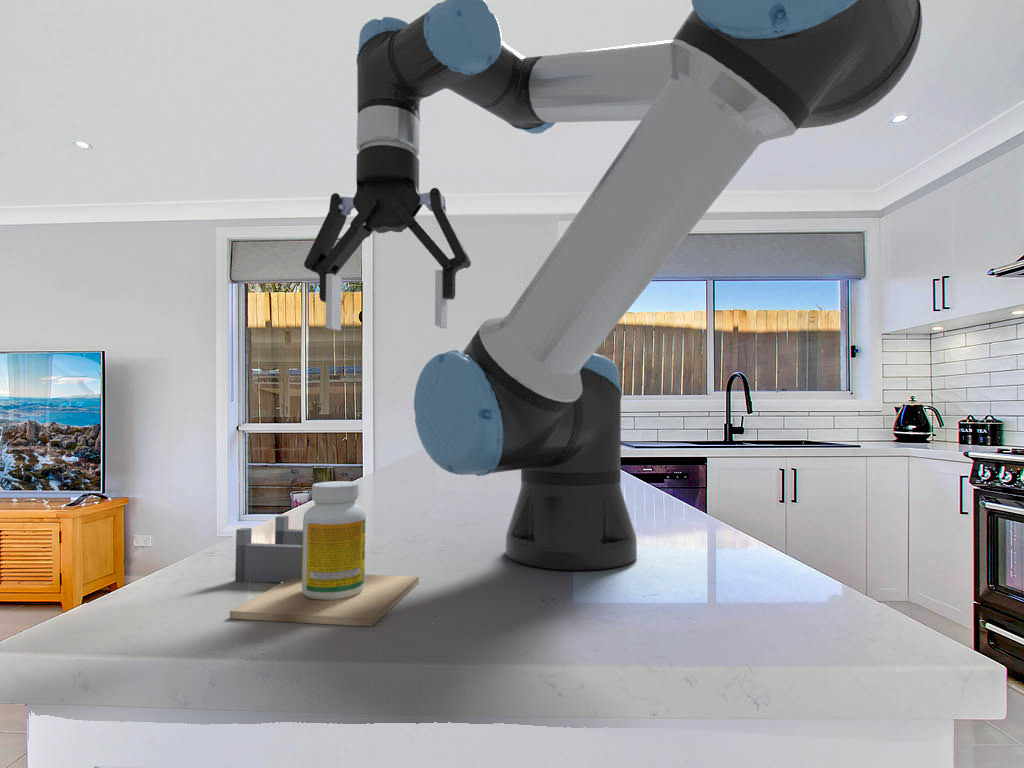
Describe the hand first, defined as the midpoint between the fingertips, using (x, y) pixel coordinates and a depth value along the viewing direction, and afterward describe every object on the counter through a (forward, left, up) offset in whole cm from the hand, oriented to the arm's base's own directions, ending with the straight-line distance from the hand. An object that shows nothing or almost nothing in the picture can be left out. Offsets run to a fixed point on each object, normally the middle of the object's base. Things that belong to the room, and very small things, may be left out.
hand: (386, 328), depth 73 cm
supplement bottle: (-2, +18, -26) cm, 32 cm away
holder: (+6, +10, -27) cm, 29 cm away
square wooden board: (-2, +18, -27) cm, 32 cm away
